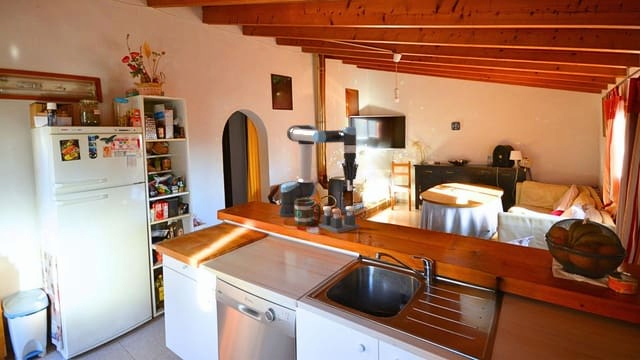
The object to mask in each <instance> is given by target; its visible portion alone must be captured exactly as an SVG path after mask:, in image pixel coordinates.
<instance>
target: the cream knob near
mask: <svg viewBox="0 0 640 360" xmlns="http://www.w3.org/2000/svg"><path fill="white" fill-rule="evenodd" d="M322 209H323V210H322V211H323V212H324V214H323V215H326V216H328V215H330V213H331V211H332V206H329V205H328V206H327V205H326V206H325V205H324V206H323V207H322Z"/></svg>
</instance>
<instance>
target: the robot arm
mask: <svg viewBox="0 0 640 360" xmlns="http://www.w3.org/2000/svg"><path fill="white" fill-rule="evenodd" d="M286 136H287V138H288V139H289V140H290V141H291V142H295V143H297V142H298V143H297V144H298V145H299V147H300V149H299V178H298V179H297V182H296V181H288V182H285V183H282V184H281V185H280V203H281V204H280V206H279V207H280V208H279V210H278V211H279V212H278V215H279V216H280V217H282V218H292V217H293V218H295V215H294V210H295V205H294V201H295V200H299V199H311V198H313V197H314V196H315V194H316V193H317V186H316V184H315V182H314V180H313V179H312V160H313V158H312V157H313V146H314V145H315V143H316V144H331V143H343V152H344V153H343V159H344V162H343V163H341V165H342V166H341V167H342V172H343V176H344V179H345V180H346V185H347V192H348V191H349V192H350V191H353V185H354V180H356V177H357V172H358V168H359V164H358V163H356V158H357V153H356V152H357V128H356V127H355V126H345V127H343V130H342V129H341V130H339V129H338V130H333V129H332V130H323V129H322V130H321V129H317V128H316V127H315V126H313V125H311V124H300V125H297V124H296V125H291V126H290V127H288V129H287V130H286Z"/></svg>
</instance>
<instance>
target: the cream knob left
mask: <svg viewBox="0 0 640 360" xmlns="http://www.w3.org/2000/svg"><path fill="white" fill-rule="evenodd" d="M354 210H355V207H354V206H350V205H349V206H348V205H347V206H345V211H346V214H347V215H349V216H351V215H353V213H354V212H353V211H354Z"/></svg>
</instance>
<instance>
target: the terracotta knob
mask: <svg viewBox="0 0 640 360" xmlns="http://www.w3.org/2000/svg"><path fill="white" fill-rule="evenodd" d="M331 211H332V215H333V217H334V218H339V217H340V214H341V208H331Z"/></svg>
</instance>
